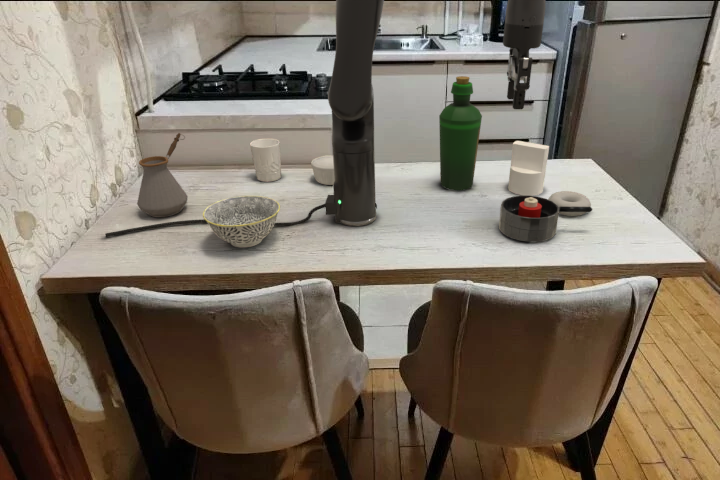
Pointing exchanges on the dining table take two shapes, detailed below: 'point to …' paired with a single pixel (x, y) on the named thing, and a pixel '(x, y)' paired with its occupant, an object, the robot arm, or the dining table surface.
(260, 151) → the beige cylinder
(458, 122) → the bottle
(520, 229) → the grey round hollow bowl
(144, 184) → the coffee pot
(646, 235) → the dining table surface
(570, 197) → the donut
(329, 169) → the ramekin
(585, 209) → the handle
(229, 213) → the bowl
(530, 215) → the ketchup bottle
